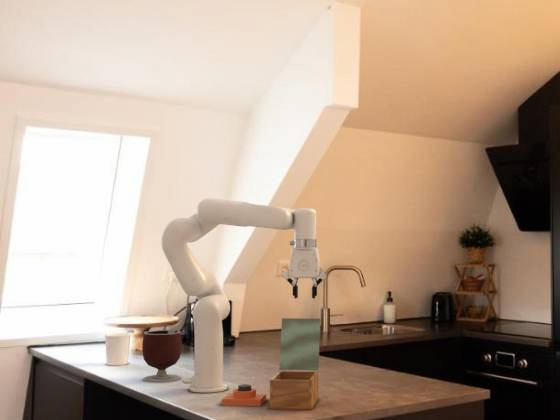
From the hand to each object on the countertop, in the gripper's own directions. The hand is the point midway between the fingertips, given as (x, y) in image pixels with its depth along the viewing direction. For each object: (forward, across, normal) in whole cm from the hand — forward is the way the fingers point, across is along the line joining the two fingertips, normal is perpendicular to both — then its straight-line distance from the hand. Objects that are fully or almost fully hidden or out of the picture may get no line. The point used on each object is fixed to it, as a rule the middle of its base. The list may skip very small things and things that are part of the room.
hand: (304, 297), depth 258 cm
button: (+28, -16, -19) cm, 37 cm away
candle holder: (+32, -85, +52) cm, 105 cm away
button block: (+31, -16, -19) cm, 40 cm away
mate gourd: (+32, -55, +20) cm, 67 cm away
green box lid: (+14, 0, -10) cm, 18 cm away
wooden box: (+31, 0, -20) cm, 37 cm away
